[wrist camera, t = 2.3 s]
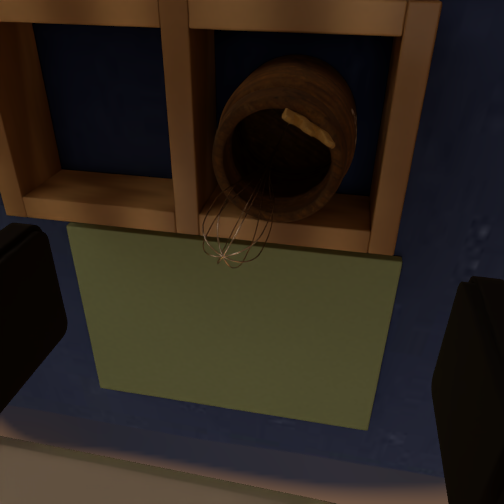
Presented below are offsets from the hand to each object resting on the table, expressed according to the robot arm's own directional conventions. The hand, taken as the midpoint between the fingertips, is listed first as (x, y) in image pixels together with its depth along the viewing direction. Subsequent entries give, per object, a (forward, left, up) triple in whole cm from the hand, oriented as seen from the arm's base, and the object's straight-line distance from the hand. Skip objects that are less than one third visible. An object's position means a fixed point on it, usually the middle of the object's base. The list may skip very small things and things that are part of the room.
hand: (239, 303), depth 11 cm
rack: (-5, -2, -16) cm, 16 cm away
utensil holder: (0, 0, -16) cm, 16 cm away
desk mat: (+4, -14, -16) cm, 22 cm away
